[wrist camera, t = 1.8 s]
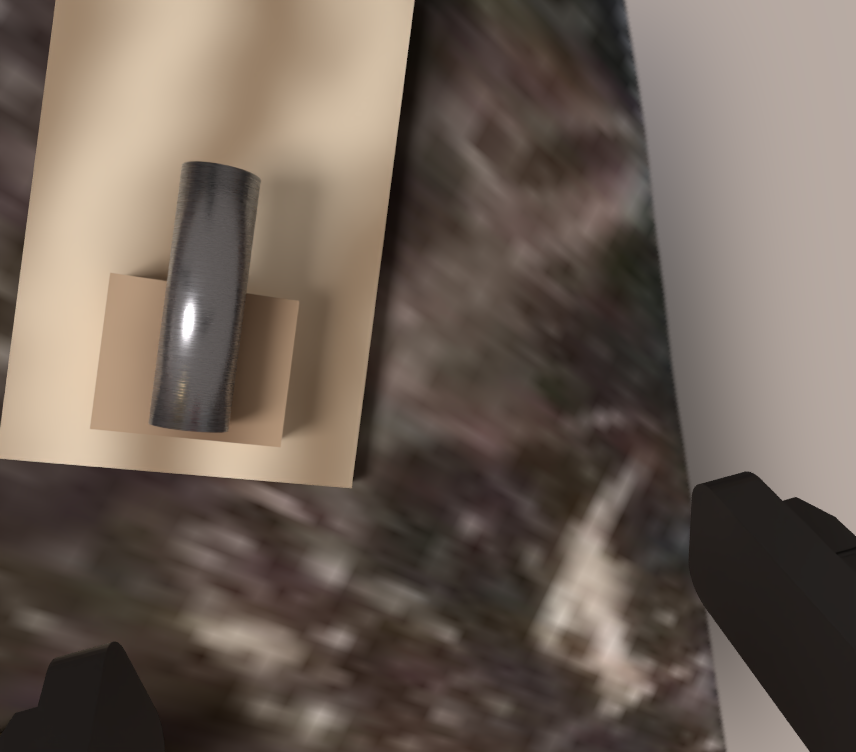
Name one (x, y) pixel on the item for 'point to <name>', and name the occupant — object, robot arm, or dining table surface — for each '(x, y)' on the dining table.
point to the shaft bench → (155, 215)
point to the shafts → (204, 298)
